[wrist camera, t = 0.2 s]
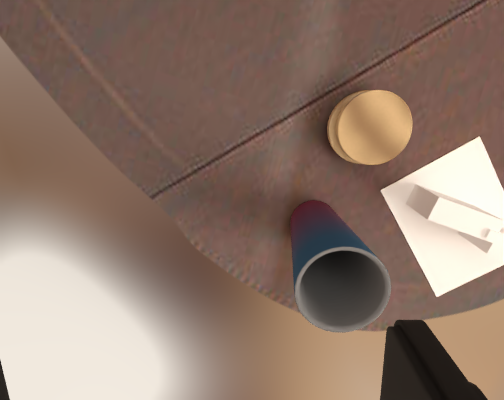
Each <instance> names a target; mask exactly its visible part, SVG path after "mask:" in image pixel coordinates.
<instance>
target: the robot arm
mask: <svg viewBox="0 0 504 400" xmlns="http://www.w3.org/2000/svg"><path fill="white" fill-rule="evenodd" d="M0 400H10V399H9V395H8V390H7V386H6V382H5V378H4V374H3V370H2V365H1V361H0ZM380 400H487V398H486V397H485V395H484V394H483V393H482V391H481V390H480V389H479V388H478V387H477V386H476V385H474V384H473V383H471V382H468V380H467V379H466V377H465V376H464V375H463V373H462V372H461V371H460V369H459V368H458V367H457V365H456V364H455V362H454V361H453V360H452V359H451V357H450V356H449V354H448V353H447V352H446V350H445V349H444V347H443V346H442V345H441V343H440V342H439V341H438V339H437V338H436V337H435V335H434V334H433V333H432V331H431V330H430V329H429V327H428V326H427V324H426V323H425V322H424V321H423V320H397V321H396V322H395V324H394V327H388V328H387V332H386V343H385V354H384V364H383V375H382V385H381V396H380Z"/></svg>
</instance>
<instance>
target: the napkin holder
mask: <svg viewBox="0 0 504 400" xmlns="http://www.w3.org/2000/svg"><path fill="white" fill-rule="evenodd" d="M380 191H381V193H382V194H383V196H384V198H385V200H386V202H387V204H388V206H389V208H390V210H391V211H392V213H393V215H394V217H395V219H396V221H397V223H398V225H399V227H400V229H401V230H402V232H403V234H404V236H405V238H406V240H407V242H408V244H409V246H410V247H411V249H412V251H413V253H414V255H415V257H416V259H417V261H418V263H419V265H420V266H421V268H422V270H423V272H424V274H425V276H426V278H427V280H428V282H429V283H430V285H431V287H432V289H433V291H434V293H435V295H436V297H438V296H440V295H442V294H444V293H446V292H448V291H450V290H452V289H454V288H456V287H459V286H461V285H463V284H465V283H467V282H469V281H471V280H473V279H475V278H477V277H479V276H481V275H483V274H486V273H488V272H490V271H492V270H494V269H496V268H498V267H500V266H502V265H504V191H503V188H502V186H501V184H500V181H499V179H498V177H497V175H496V172H495V170H494V168H493V166H492V163H491V161H490V159H489V156H488V154H487V152H486V150H485V147H484V145H483V143H482V141H481V138H480V136H479V137H477V138H476V139H474V140H472V141H470V142H468V143H466V144H465V145H463V146H461V147H459V148H457V149H455V150H454V151H452V152H450V153H448V154H446V155H444V156H443V157H441V158H439V159H437V160H435V161H433V162H432V163H430V164H428V165H426V166H424V167H422V168H421V169H419V170H417V171H415V172H413V173H411V174H410V175H408V176H406V177H404V178H402V179H400V180H399V181H397V182H395V183H393V184H391V185H389V186H388V187H386V188H384V189H382V190H380Z"/></svg>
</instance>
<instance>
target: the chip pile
mask: <svg viewBox="0 0 504 400" xmlns="http://www.w3.org/2000/svg"><path fill="white" fill-rule="evenodd" d="M411 132H412V116H411V113H410V110H409V108H408V106H407V104H406V103H405V102H404V101H403V100H402V99H401V98H400V97H399V96H398V95H396V94H394V93H392V92H389V91H385V90H363V91H357V92H354V93H352V94H350V95H348V96H346V97H345V98H344V99H342V100H341V101H340V102H339V103H338V104H337V105H336V106H335V108H334V109H333V111H332V112H331V115H330V117H329V120H328V125H327V135H328V139H329V142H330V145H331V146H332V148H333V150H334V151H335V152H336V153H337V154H338V155H339V156H340V157H342V158H343V159H345V160H347V161H349V162H351V163H355V164H366V165H377V164H382V163H385V162H387V161H390V160H391V159H393V158H395V157H396V156H397V155H398V154H399V153H400V152H401V151H402V150H403V149H404V148H405V146H406V145H407V143H408V141H409V139H410V136H411Z"/></svg>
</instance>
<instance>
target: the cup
mask: <svg viewBox="0 0 504 400" xmlns="http://www.w3.org/2000/svg"><path fill="white" fill-rule="evenodd" d="M291 242H292V260H293V278H294V294H295V301H296V304H297V306H298V309H299V310H300V312H301V313H302V315H303V316H304V317H305V318H306V319H307V320H308V321H309V322H310V323H312V324H313V325H315V326H316V327H318V328H321V329H323V330H326V331H331V332H350V331H354V330H358V329H361V328H363V327H365V326H367V325H369V324H370V323H371V322H373V321H374V320H375V319H377V318H378V316H379V315H380V314H381V313H382V312H383V310H384V309H385V307H386V306H387V303H388V300H389V298H390V292H391V281H390V277H389V274H388V271H387V269H386V268H385V266H384V264H383V263H382V262H381V261H380V260H379V259H378V258H377V257H376V256H375V255H374V253H373V252H372V251H371V250H370V249H369V248H368V247H367V246H366V245H365V244H364V243H363V242H362V241H361V240H360V238H359V237H358V236H357V235H356V234H355V233H354V232H353V231H352V230H351V229H350V228H349V227H348V226H347V224H346V223H345V222H344V221H343V220H342V219H341V218H340V217H339V216H338V215H337V214H336V213H335V212H334V210H333V209H332V208H331V207H330V206H329V205H327V204H326V203H324V202H321V201H314V200H312V201H307V202H304V203H302V204H301V205H299V206H298V207H297V208H296V209H295V211H294V212H293V214H292V217H291Z"/></svg>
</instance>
